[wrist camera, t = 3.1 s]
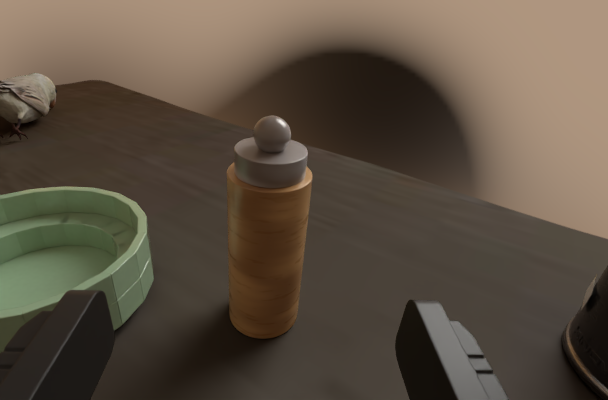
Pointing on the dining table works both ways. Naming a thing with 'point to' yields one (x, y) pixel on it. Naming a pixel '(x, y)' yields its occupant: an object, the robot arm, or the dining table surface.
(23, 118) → the decorative bird
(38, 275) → the serving bowl
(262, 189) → the pepper mill
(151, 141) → the dining table surface
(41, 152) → the dining table surface
